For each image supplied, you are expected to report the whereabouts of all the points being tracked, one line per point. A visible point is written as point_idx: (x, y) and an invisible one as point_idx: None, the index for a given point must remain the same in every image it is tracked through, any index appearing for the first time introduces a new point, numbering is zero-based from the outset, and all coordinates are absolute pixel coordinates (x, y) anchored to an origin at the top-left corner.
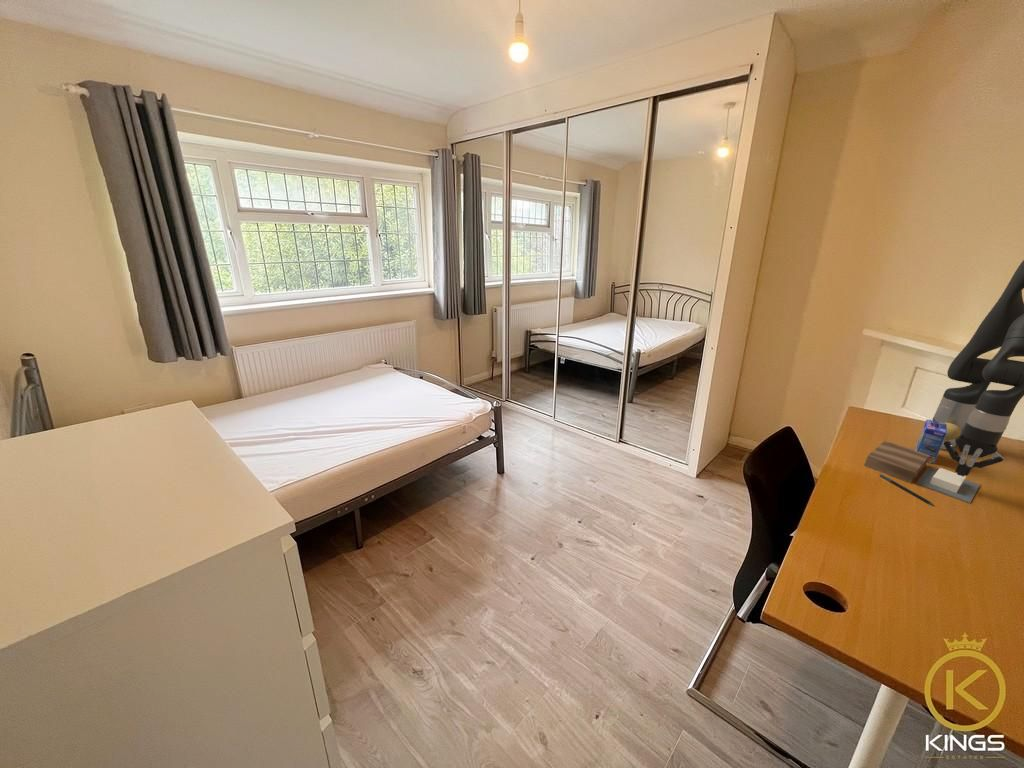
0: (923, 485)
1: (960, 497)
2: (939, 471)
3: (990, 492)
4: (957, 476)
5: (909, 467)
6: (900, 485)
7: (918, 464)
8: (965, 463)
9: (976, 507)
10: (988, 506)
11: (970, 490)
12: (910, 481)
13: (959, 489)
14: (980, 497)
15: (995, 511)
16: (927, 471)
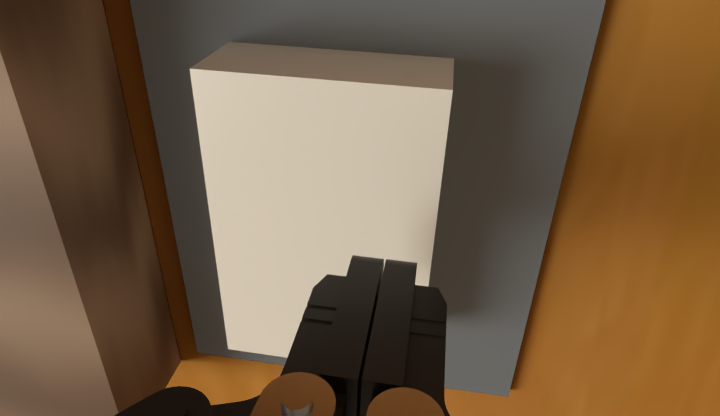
0: (240, 358)
1: (451, 368)
2: (222, 188)
3: (713, 20)
4: (375, 171)
5: (65, 401)
6: None
7: (57, 289)
8: (347, 386)
9: (544, 410)
10: (625, 347)
11: (517, 182)
12: (172, 370)
13: (436, 237)
14: (590, 235)
15: (659, 386)
16: (155, 50)
